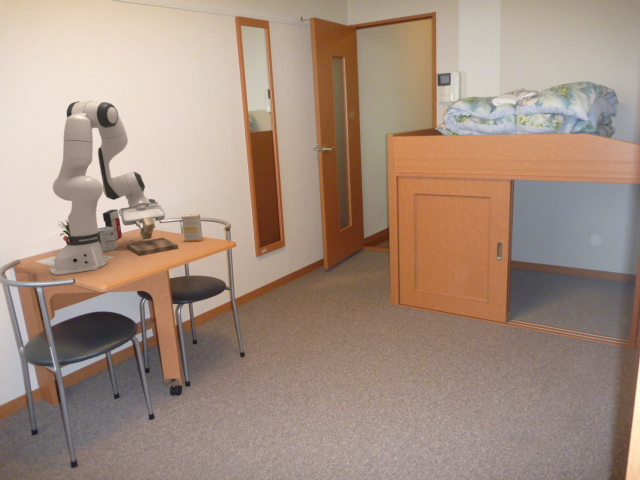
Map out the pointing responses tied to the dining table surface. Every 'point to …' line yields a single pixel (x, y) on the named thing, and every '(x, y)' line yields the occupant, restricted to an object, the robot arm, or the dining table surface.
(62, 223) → the house plant
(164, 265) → the dining table surface
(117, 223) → the packaged product box
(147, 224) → the beech block
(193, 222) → the supplement box
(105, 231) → the light bulb box
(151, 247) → the walnut board
